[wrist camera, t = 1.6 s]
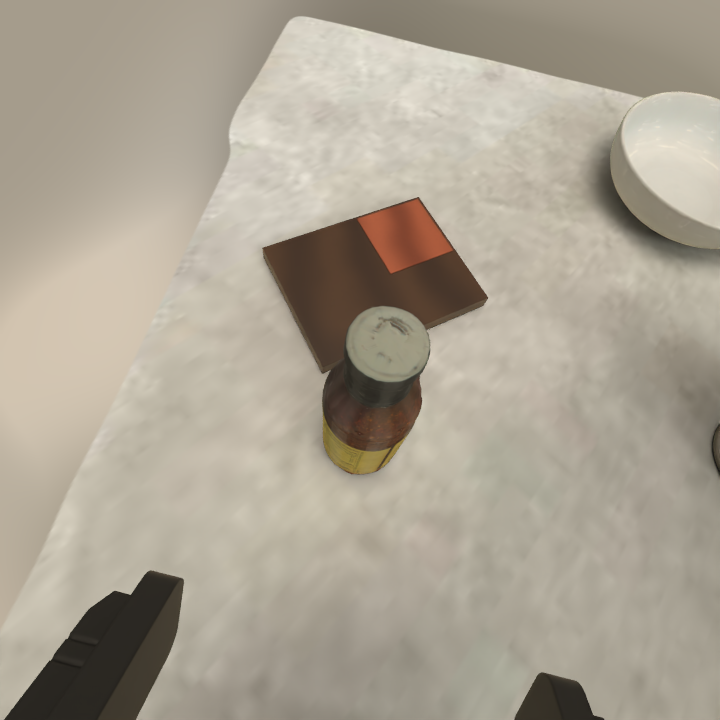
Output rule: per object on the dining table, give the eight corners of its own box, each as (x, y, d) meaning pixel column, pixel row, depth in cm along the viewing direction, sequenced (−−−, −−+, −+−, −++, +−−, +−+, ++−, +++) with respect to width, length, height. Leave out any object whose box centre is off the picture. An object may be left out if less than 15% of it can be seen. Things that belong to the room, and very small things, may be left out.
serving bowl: (558, 150, 57) (589, 99, 51) (692, 132, 61) (736, 83, 55) (642, 287, 49) (690, 247, 43) (789, 256, 54) (852, 215, 47)
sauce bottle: (375, 396, 41) (427, 263, 23) (406, 460, 39) (491, 368, 21) (307, 424, 39) (306, 303, 21) (336, 492, 37) (362, 423, 19)
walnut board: (415, 206, 51) (418, 196, 49) (483, 305, 46) (488, 297, 45) (263, 257, 46) (262, 247, 44) (322, 373, 41) (322, 366, 40)
